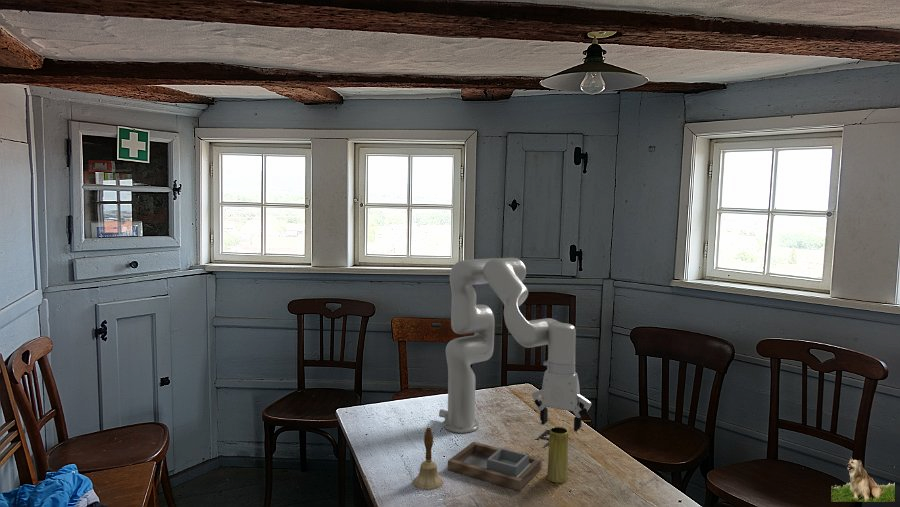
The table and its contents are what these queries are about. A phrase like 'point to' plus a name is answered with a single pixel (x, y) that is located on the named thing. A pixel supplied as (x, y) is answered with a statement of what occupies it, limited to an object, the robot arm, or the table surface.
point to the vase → (558, 455)
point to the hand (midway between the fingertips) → (560, 426)
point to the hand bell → (428, 467)
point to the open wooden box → (474, 465)
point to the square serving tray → (508, 462)
